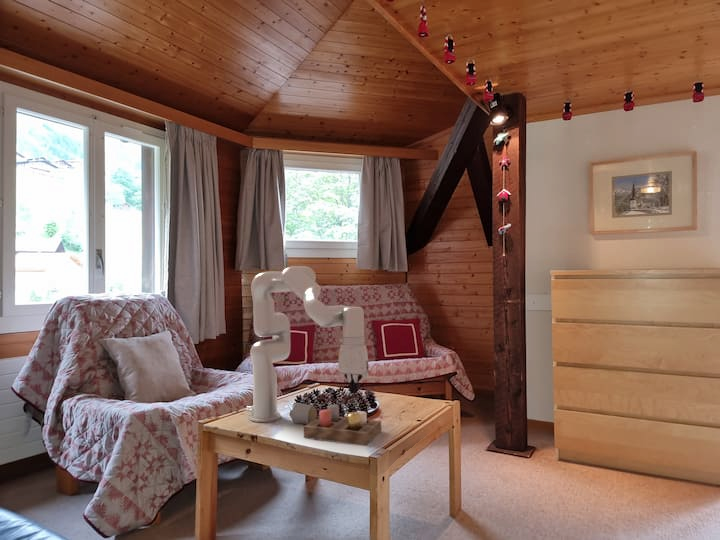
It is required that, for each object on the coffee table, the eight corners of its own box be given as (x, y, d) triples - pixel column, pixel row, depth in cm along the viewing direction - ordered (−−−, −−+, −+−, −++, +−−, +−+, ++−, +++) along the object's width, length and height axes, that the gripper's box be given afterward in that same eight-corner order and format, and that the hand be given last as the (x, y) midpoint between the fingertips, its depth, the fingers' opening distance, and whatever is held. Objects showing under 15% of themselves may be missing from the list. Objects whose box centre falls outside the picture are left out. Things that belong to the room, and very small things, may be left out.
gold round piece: (345, 429, 181) (345, 414, 181) (350, 426, 185) (350, 411, 185) (357, 430, 180) (357, 416, 180) (361, 427, 184) (361, 412, 184)
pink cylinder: (317, 426, 185) (317, 412, 185) (322, 423, 189) (322, 408, 189) (328, 427, 184) (328, 413, 184) (333, 424, 188) (333, 410, 188)
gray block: (325, 421, 192) (325, 407, 192) (330, 417, 196) (330, 404, 196) (336, 422, 190) (336, 408, 190) (340, 419, 194) (340, 405, 194)
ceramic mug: (309, 427, 197) (309, 406, 197) (290, 424, 200) (290, 404, 200) (321, 420, 207) (322, 401, 207) (304, 418, 210) (304, 399, 210)
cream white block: (352, 428, 188) (352, 413, 188) (357, 424, 192) (357, 410, 192) (364, 429, 186) (364, 414, 186) (368, 425, 190) (368, 411, 190)
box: (303, 437, 184) (303, 426, 184) (322, 425, 199) (322, 414, 199) (366, 445, 176) (366, 433, 176) (381, 431, 191) (381, 420, 191)
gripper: (329, 342, 182) (330, 393, 182) (369, 343, 177) (370, 397, 176) (338, 339, 189) (338, 389, 189) (376, 340, 184) (377, 392, 183)
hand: (353, 392), depth 183 cm, fingers closed
